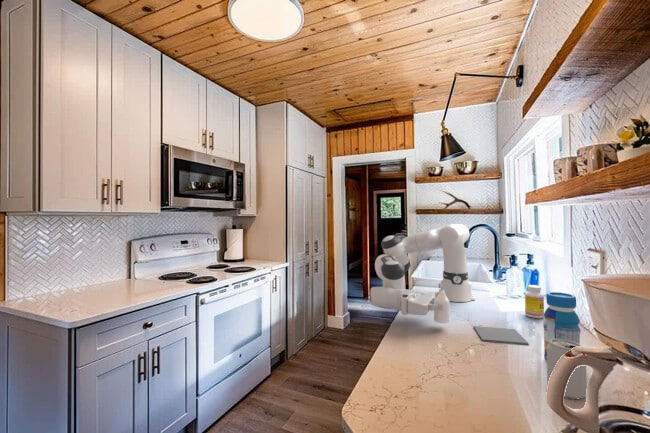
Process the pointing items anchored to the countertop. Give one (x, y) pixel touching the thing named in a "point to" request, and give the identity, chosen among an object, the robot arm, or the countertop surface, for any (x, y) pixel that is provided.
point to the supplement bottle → (534, 302)
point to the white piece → (444, 314)
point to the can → (578, 378)
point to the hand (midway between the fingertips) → (444, 305)
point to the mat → (500, 335)
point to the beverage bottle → (560, 319)
